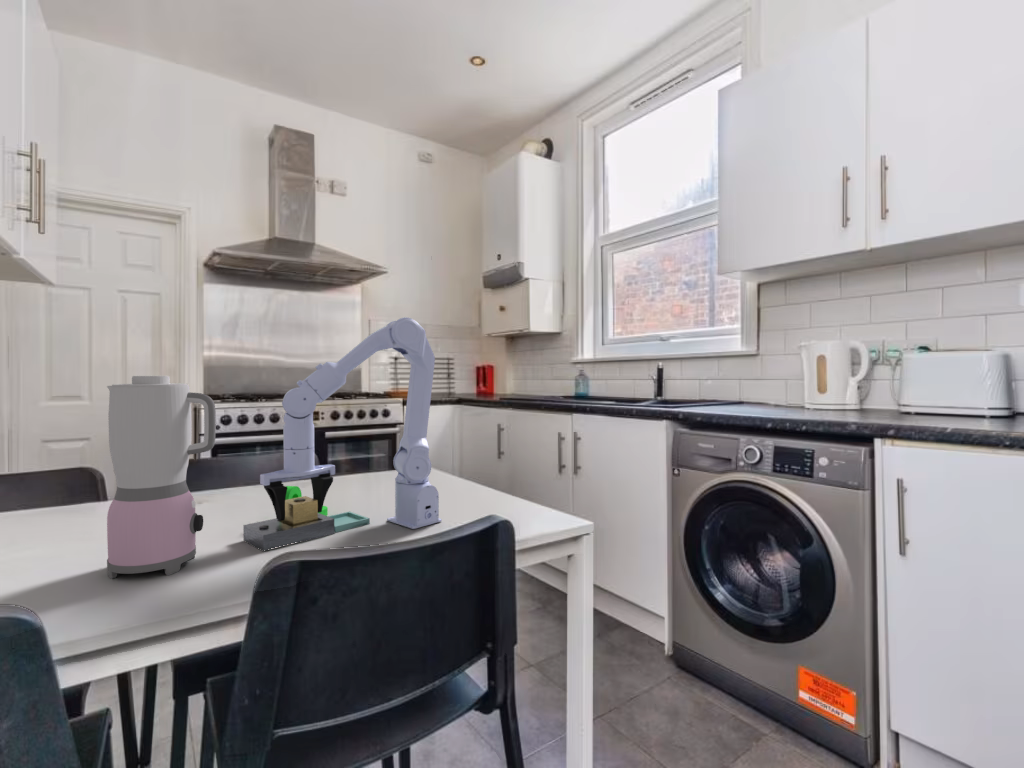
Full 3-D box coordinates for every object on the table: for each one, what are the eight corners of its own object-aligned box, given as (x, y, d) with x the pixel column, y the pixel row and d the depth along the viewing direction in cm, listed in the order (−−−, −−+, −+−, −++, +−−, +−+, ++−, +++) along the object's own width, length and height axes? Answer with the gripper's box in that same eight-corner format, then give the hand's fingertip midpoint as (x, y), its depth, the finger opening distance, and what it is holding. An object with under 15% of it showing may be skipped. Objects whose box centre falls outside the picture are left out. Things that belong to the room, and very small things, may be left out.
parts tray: (369, 523, 111) (369, 518, 111) (335, 532, 105) (335, 526, 105) (349, 516, 116) (349, 511, 116) (315, 524, 110) (315, 519, 110)
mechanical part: (305, 527, 108) (306, 488, 108) (278, 526, 108) (279, 488, 109) (332, 514, 120) (332, 480, 120) (307, 513, 120) (308, 479, 121)
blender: (90, 585, 79) (87, 376, 78) (125, 557, 91) (122, 375, 90) (207, 574, 83) (204, 376, 83) (225, 549, 95) (223, 375, 94)
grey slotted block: (334, 533, 104) (334, 517, 104) (263, 551, 94) (263, 533, 94) (312, 524, 110) (312, 509, 110) (243, 540, 100) (243, 523, 100)
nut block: (317, 534, 104) (317, 499, 104) (293, 540, 100) (293, 504, 100) (305, 529, 107) (305, 495, 107) (281, 535, 103) (281, 499, 103)
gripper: (323, 442, 111) (323, 504, 112) (253, 449, 100) (253, 519, 101) (340, 445, 106) (340, 510, 107) (268, 453, 96) (269, 526, 96)
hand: (299, 515), depth 103 cm, fingers open, 7 cm apart
